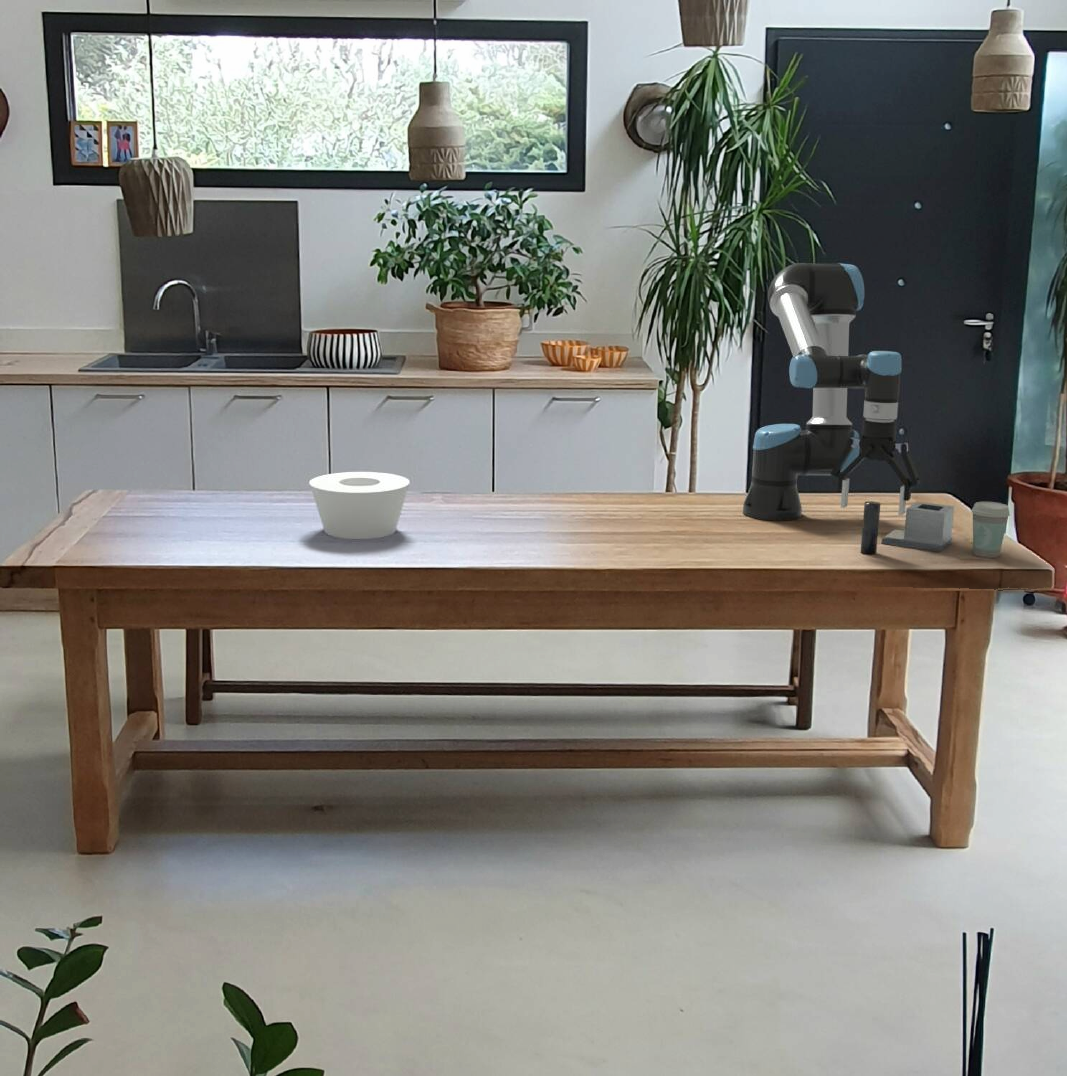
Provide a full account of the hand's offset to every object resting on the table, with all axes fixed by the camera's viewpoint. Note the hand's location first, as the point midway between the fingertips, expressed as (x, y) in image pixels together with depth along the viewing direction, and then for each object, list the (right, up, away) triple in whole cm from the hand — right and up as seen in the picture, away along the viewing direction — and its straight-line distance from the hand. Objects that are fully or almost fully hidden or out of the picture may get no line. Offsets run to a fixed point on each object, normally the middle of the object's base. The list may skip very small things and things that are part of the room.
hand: (872, 510), depth 313 cm
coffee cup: (+28, -10, +4) cm, 30 cm away
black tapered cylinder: (0, -10, +3) cm, 10 cm away
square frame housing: (+14, -8, +13) cm, 20 cm away
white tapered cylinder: (-121, -5, +14) cm, 122 cm away
